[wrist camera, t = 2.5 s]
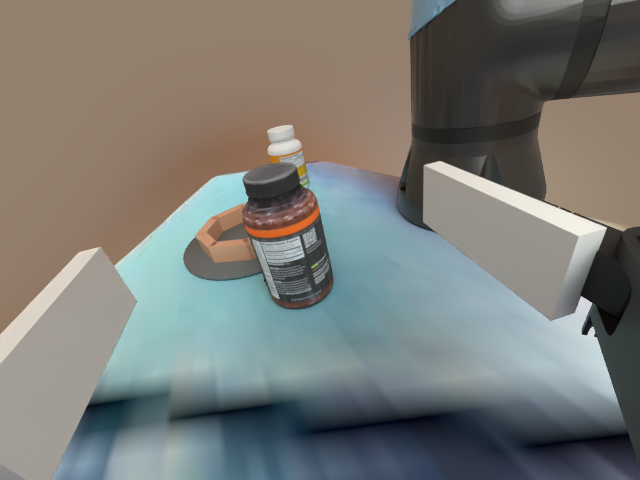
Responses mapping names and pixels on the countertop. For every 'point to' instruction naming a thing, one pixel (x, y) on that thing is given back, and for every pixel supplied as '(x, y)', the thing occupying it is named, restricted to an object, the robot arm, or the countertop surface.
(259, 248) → the supplement bottle
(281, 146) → the supplement bottle
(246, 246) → the collar
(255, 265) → the mat
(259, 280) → the countertop surface
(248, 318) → the countertop surface
